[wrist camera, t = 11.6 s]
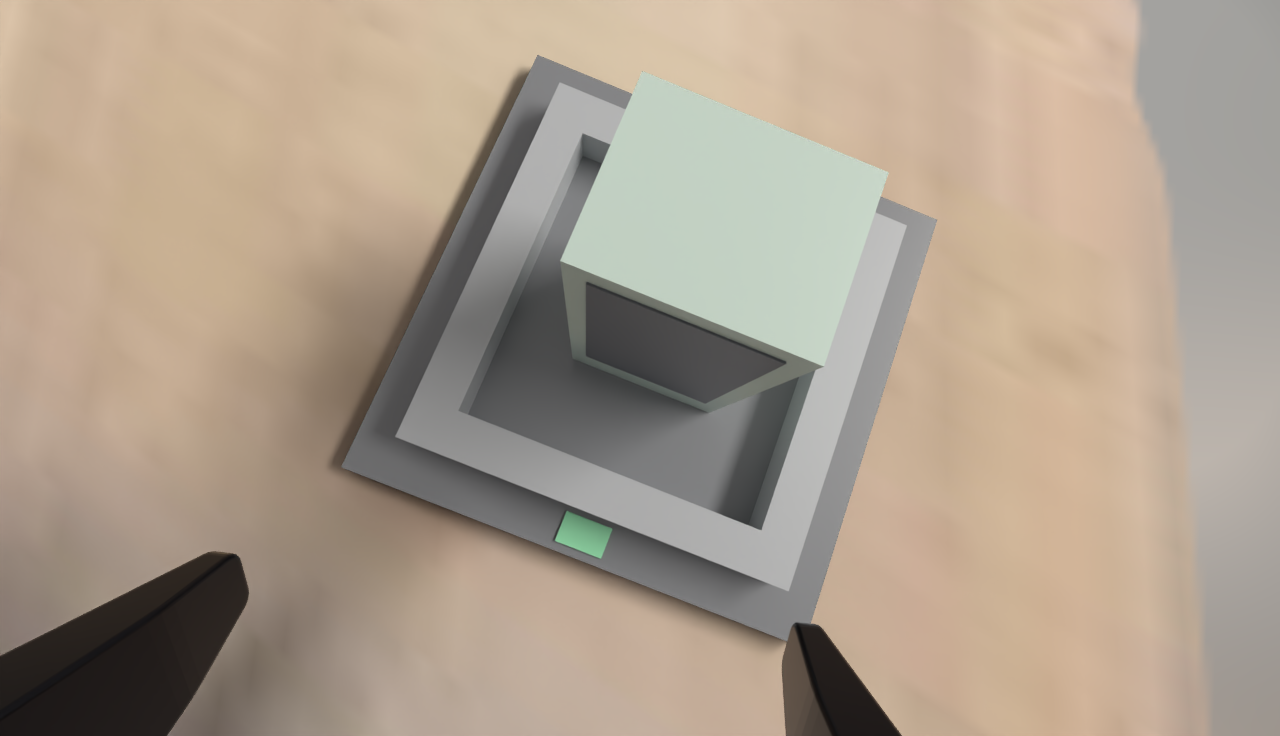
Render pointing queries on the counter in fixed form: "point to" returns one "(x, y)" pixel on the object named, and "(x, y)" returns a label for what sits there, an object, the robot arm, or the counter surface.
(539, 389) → the charging dock
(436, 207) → the counter surface
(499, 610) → the counter surface
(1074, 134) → the counter surface
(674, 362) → the rectangular block
